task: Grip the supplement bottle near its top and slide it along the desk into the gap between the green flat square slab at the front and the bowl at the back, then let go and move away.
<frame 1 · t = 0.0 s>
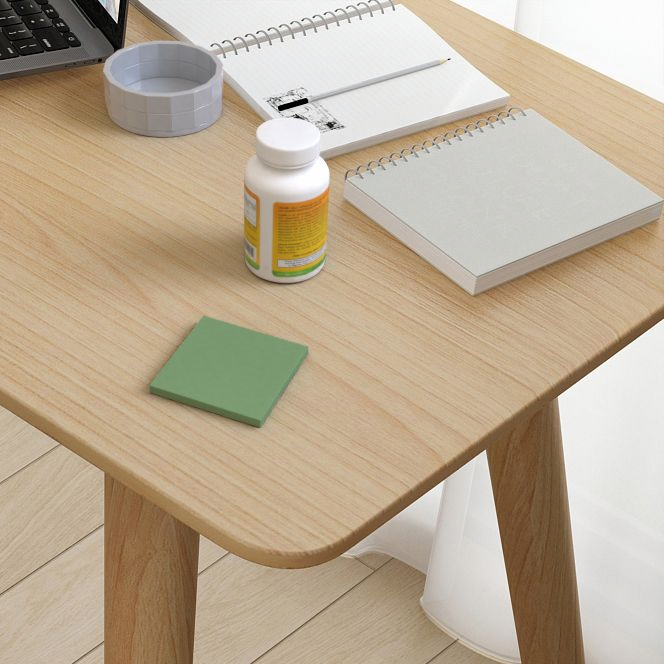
bowl: (165, 107, 94), on the table
green flat square slab: (230, 372, 71), on the table
supplement bottle: (284, 263, 79), on the table
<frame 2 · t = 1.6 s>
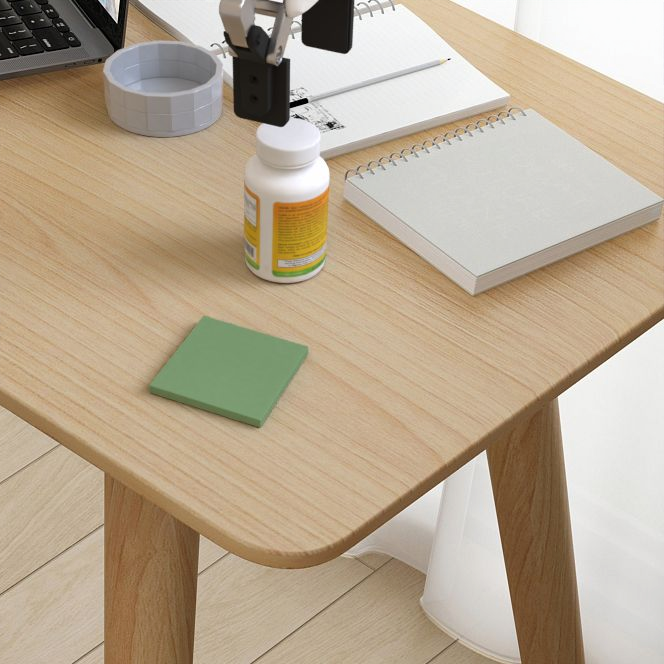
hand: (295, 82, 71), 13 cm above the table, tool pointing down, fingers open, 9 cm apart
nothing on the table moved.
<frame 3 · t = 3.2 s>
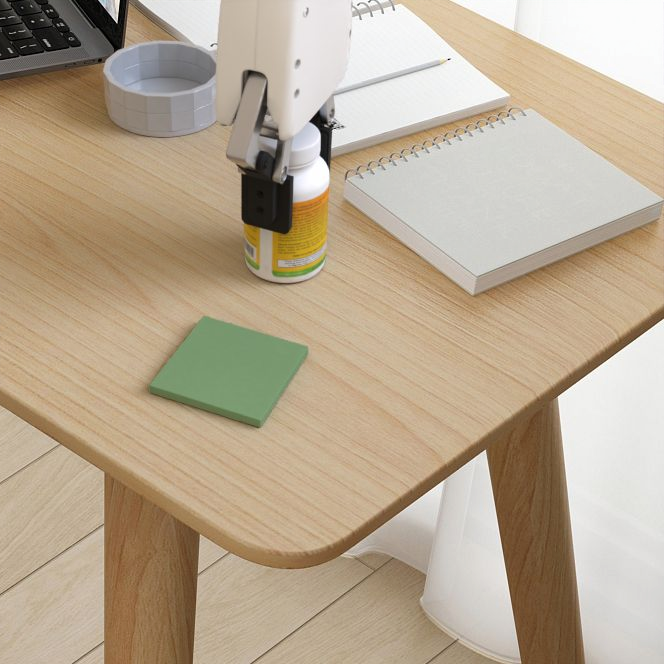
hand: (286, 199, 76), 5 cm above the table, tool pointing down, fingers closed on supplement bottle, 5 cm apart
supplement bottle: (284, 263, 79), on the table, touching gripper
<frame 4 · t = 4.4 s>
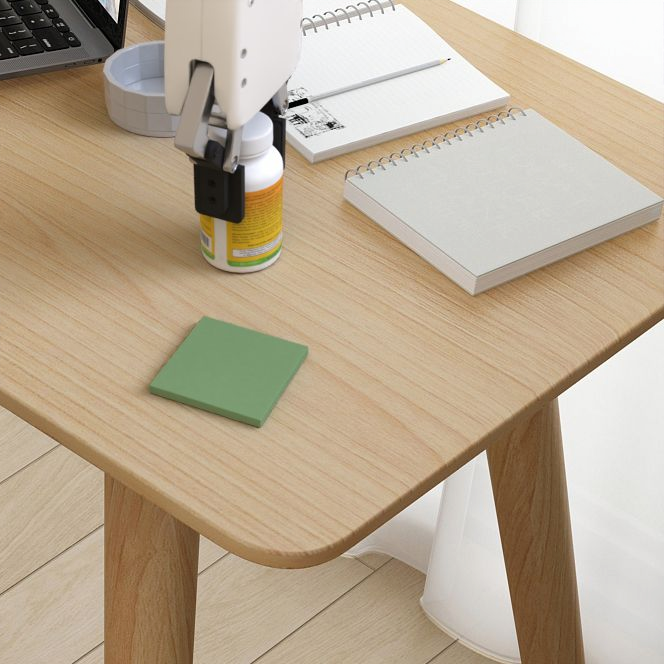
hand: (241, 189, 77), 5 cm above the table, tool pointing down, fingers closed on supplement bottle, 5 cm apart
supplement bottle: (241, 253, 80), on the table, touching gripper
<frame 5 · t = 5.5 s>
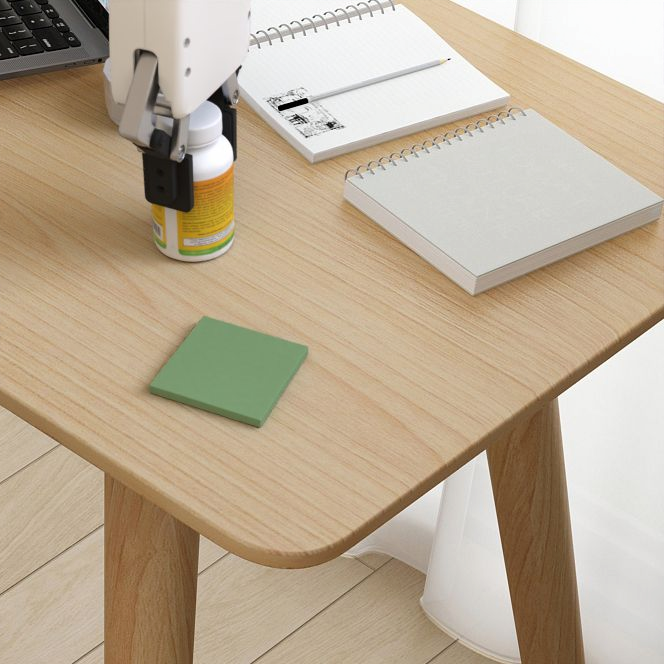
hand: (192, 178, 77), 5 cm above the table, tool pointing down, fingers closed on supplement bottle, 5 cm apart
supplement bottle: (194, 242, 81), on the table, touching gripper
when the fingers open (5 cm above the table, at t = 5.9 s): supplement bottle stays where it is, on the table.
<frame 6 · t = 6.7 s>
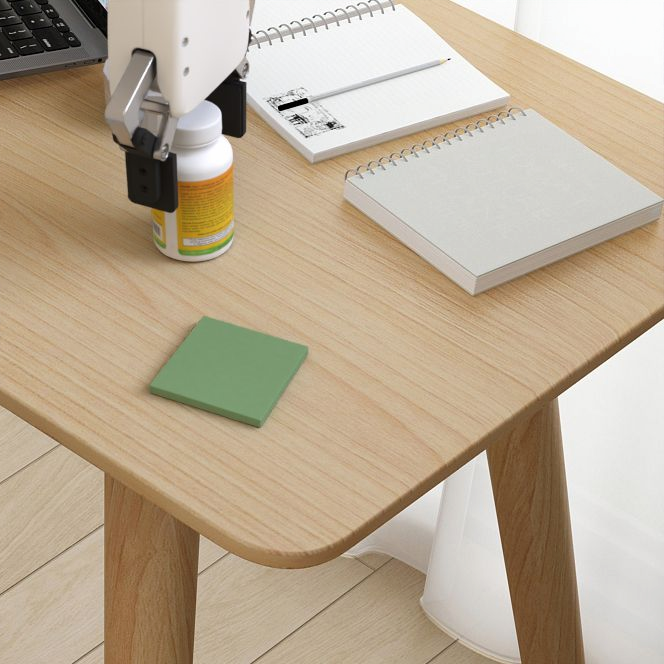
hand: (189, 167, 77), 6 cm above the table, tool pointing down, fingers open, 9 cm apart
supplement bottle: (193, 242, 81), on the table
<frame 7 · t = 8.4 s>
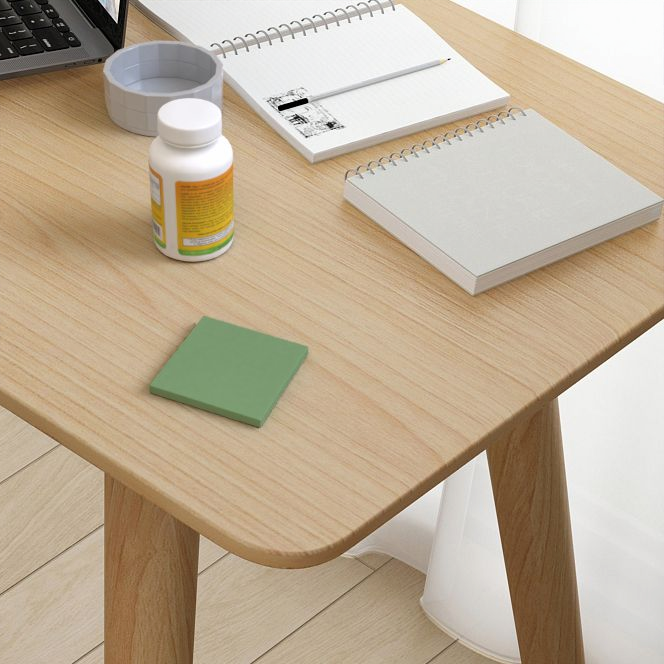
nothing on the table moved.
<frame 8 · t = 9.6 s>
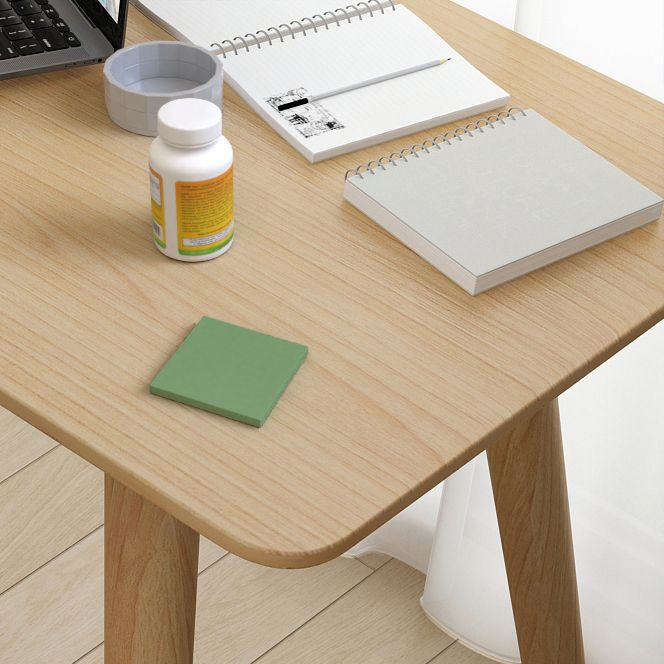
nothing on the table moved.
at the end: supplement bottle 0.0 cm from the target spot on the table beside the bowl, on the table; supplement bottle 13.6 cm from the green flat square slab (horizontally); supplement bottle tilted 0° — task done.
